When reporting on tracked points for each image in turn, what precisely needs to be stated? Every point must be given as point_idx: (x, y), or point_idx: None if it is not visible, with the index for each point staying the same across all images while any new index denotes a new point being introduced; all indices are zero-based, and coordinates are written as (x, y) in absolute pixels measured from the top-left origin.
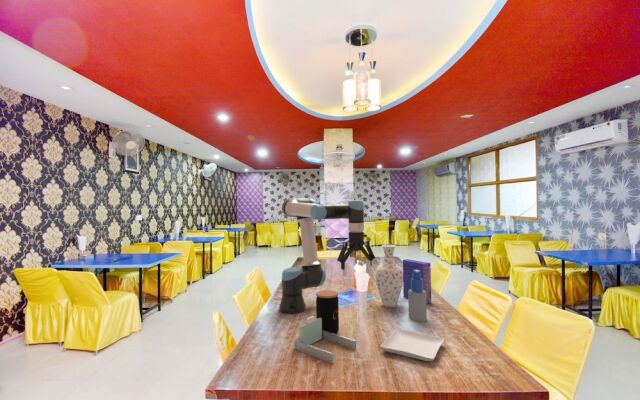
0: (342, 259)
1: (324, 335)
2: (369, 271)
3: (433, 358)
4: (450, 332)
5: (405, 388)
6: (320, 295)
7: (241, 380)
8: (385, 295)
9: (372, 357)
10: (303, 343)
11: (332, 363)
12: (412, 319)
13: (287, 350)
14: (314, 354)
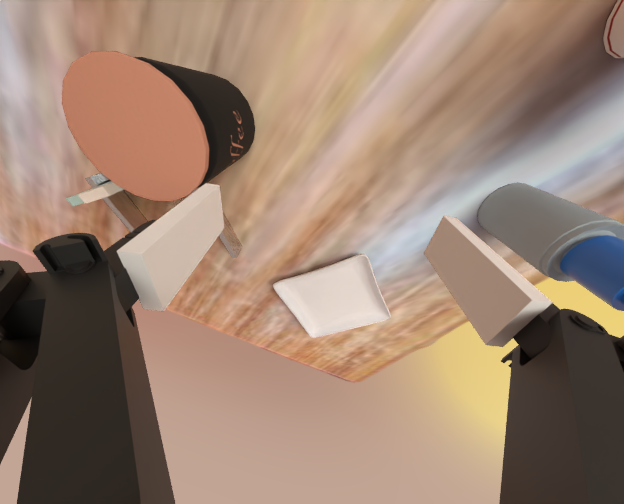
0: (74, 298)
1: None
2: (435, 264)
3: (314, 337)
4: None
5: (244, 337)
6: (90, 159)
7: (2, 227)
8: None
9: (252, 280)
10: (110, 207)
11: None
12: (480, 211)
13: (84, 169)
14: None
